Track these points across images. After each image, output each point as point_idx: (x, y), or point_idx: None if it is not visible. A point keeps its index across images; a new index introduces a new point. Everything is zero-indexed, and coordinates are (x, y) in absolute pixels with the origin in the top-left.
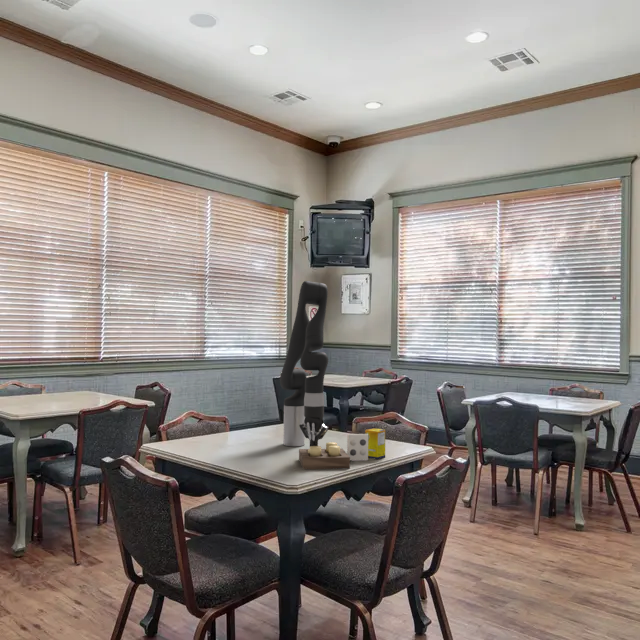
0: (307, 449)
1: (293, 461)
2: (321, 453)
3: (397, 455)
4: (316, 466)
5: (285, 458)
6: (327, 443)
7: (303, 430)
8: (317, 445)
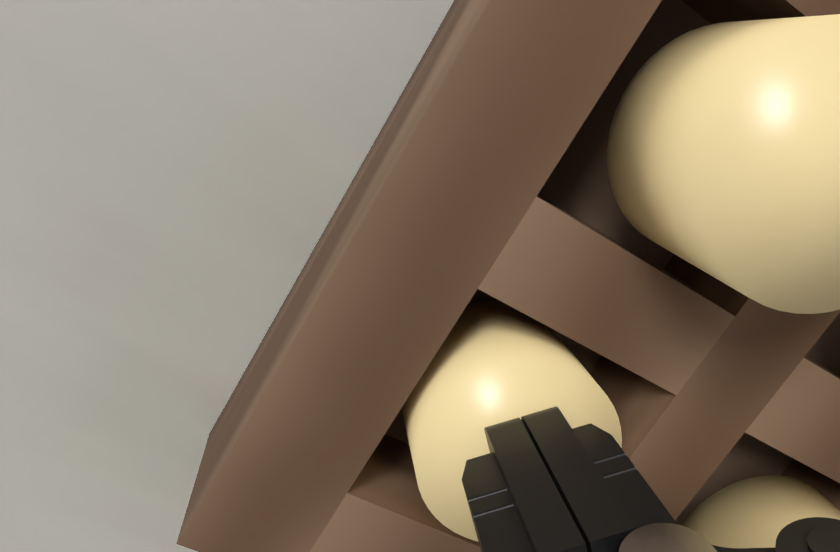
0: (295, 439)
1: None
2: (737, 424)
3: None
4: None
5: (35, 546)
6: (787, 285)
7: None
8: (631, 470)
